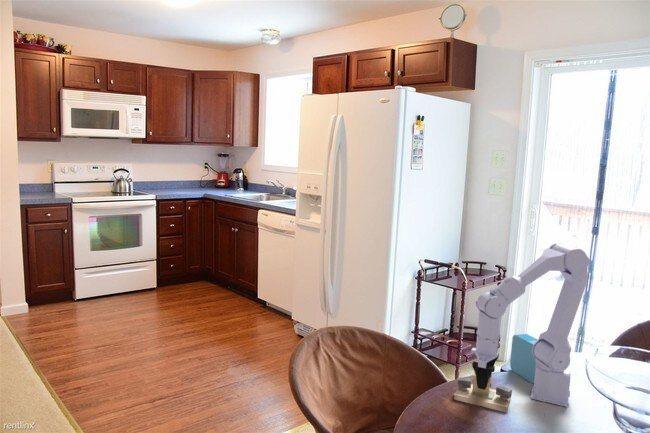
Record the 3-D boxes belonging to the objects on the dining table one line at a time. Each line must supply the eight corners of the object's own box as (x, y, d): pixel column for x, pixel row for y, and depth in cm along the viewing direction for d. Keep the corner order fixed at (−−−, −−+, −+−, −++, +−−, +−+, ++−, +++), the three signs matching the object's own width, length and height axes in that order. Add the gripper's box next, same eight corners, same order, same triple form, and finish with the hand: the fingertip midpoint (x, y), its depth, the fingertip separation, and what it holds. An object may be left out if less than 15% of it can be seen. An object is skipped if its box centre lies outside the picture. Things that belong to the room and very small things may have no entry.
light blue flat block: (547, 384, 154) (551, 346, 153) (534, 385, 153) (538, 347, 151) (520, 367, 166) (524, 332, 164) (509, 369, 164) (512, 333, 163)
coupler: (491, 392, 143) (492, 375, 143) (489, 396, 141) (491, 379, 140) (473, 387, 145) (474, 371, 145) (471, 392, 143) (472, 375, 142)
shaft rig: (512, 398, 144) (513, 383, 143) (508, 412, 136) (509, 396, 135) (459, 386, 150) (460, 371, 150) (452, 399, 142) (453, 383, 142)
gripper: (477, 326, 149) (474, 370, 151) (468, 341, 136) (464, 390, 138) (502, 330, 146) (498, 375, 148) (495, 347, 133) (491, 396, 135)
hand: (483, 383), depth 142 cm, fingers open, 7 cm apart
